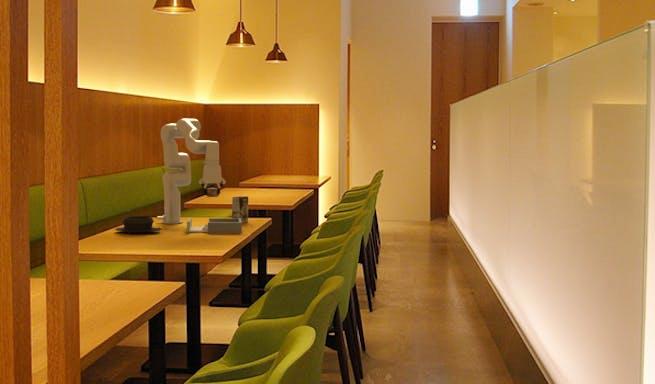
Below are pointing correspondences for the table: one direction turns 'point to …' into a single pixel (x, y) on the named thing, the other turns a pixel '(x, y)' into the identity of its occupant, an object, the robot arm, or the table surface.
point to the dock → (224, 225)
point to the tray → (196, 229)
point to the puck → (212, 192)
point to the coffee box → (240, 208)
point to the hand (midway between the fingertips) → (212, 194)
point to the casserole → (138, 225)
